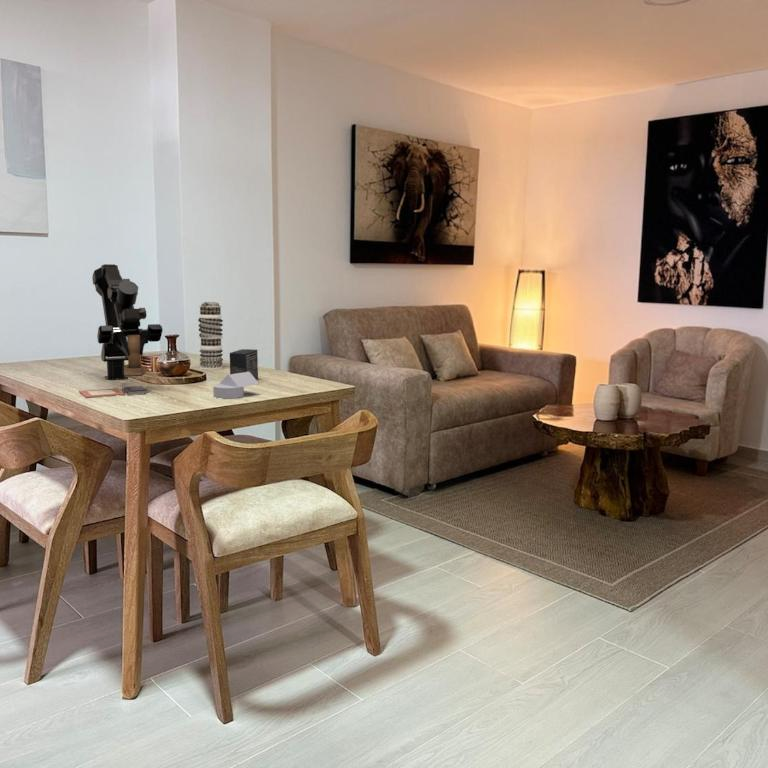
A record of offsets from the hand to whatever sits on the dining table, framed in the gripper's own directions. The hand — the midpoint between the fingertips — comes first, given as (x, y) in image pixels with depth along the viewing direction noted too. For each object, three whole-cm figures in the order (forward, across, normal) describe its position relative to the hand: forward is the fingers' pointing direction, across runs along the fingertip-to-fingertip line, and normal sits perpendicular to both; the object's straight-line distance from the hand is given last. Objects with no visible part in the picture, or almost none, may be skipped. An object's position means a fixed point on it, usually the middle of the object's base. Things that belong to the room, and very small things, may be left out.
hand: (135, 354), depth 222 cm
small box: (+2, +38, +15) cm, 41 cm away
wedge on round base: (+20, +26, -3) cm, 32 cm away
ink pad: (+7, 0, +9) cm, 12 cm away
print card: (+6, -10, +11) cm, 16 cm away
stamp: (+3, 0, +6) cm, 7 cm away
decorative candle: (-21, +37, +38) cm, 57 cm away
